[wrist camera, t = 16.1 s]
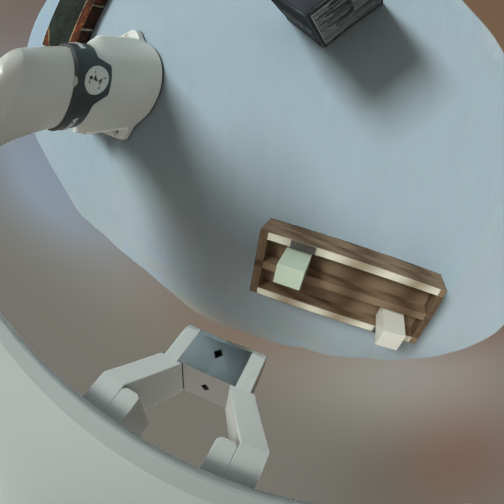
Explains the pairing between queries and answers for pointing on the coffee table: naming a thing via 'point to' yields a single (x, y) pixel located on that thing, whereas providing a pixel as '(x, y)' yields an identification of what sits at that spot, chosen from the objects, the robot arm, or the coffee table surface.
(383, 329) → the offwhite block
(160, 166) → the coffee table surface
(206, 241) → the coffee table surface
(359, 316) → the wooden shelf rack
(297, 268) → the sage tab
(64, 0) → the book
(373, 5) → the small box
